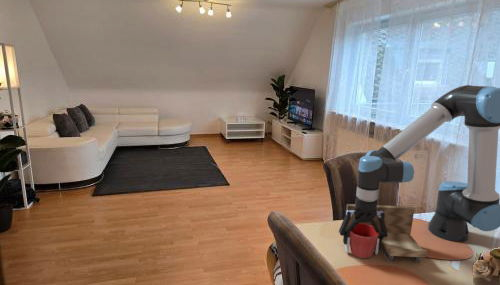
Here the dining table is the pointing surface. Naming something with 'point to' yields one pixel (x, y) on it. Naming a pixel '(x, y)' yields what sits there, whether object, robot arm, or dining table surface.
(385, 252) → the small wooden stand
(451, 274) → the dining table surface
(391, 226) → the wooden board
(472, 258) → the dining table surface
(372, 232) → the flower pot
